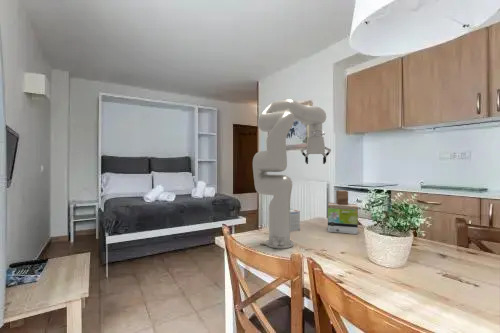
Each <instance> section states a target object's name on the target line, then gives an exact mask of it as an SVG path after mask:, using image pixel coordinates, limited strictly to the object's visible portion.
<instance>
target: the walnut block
mask: <svg viewBox="0 0 500 333" xmlns="http://www.w3.org/2000/svg"><path fill="white" fill-rule="evenodd" d="M335 192H336V194H335V195H336V196H335V200H336V201H335V203H337V204H338V205H348V204H349V191H347V190H336V191H335Z"/></svg>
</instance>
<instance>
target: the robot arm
mask: <svg viewBox="0 0 500 333" xmlns="http://www.w3.org/2000/svg"><path fill="white" fill-rule="evenodd" d="M266 106H267V105H266ZM257 120H258V121H257V126H258V128H259V130H261V131H262V132H265V133H268V134H267V137H266V143H265V144H266V150H262V151H259V152H256V153H255V154H254V156H253V157H252V158H253V159H252V172H253V181H254V183H253V184H254V188H255V191H256V192H257V194H260V195H263V196H264V195H265V196H273V197H272V198H271V200H270V201H269V204H268V239H266V241H265V245H266V246H267V247H269V248H272V249H277V250H278V249H279V250H281V249H288V248H292V247H293V246H294V244H295V243H294V241H293V240H292V239H291V231H290V208H291V197H292V196H291V195H292V190H293V181H292V179H291V177H290V176H287V175H286V174H285V175H284V174H268V173H281V172H284V171H285V170H287V167H288V160H287V159H288V154H287V144H286V143H287V137H288V134H289V132H290V130H291V129H292V127H293V126H294V123H295V121H297V122H300V123H301V124H302V125H305V126H308V136H307V139H306V146H305V147H303V148H302V149H300V153H301V154H302V156H304V160H305V161H304V162H305V164H306V165H308V164H309V157H308V156H309V155H322V156H323V157H322V164H323V165H325V164H326V163H327V157H328V156H329V155H330V153H331V151H332V149H331V148H329V147H327V146H325V138H324V136H325V134H326V133H325V132H324V131H323V124H324V123H325V122H326V120H327V114H326V111H325V110H324V109H323V108H321V107H319V106H314V105H308V104H303V103H300V102H298V101H297V100H294V99H291V98H286V99H279V100H273V101H272V102H271V103H269V104H268V106H267V107H266V108H265V109H264V110H263V111H262V113H260V115H259V117H258V119H257ZM323 135H324V136H323ZM305 151H306V153H305ZM326 151H327V152H326ZM325 152H326V153H325Z"/></svg>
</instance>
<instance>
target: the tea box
mask: <svg viewBox="0 0 500 333" xmlns="http://www.w3.org/2000/svg"><path fill="white" fill-rule="evenodd" d="M358 222H359V206H358V205H357V204H356V203H348V205H338V204H337V203H336V202H331V201H329V202H328V203H327V233H339V234H340V233H341V234H350V235H358V233H359V232H358V228H359V226H358V224H359V223H358Z"/></svg>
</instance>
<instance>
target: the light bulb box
mask: <svg viewBox="0 0 500 333" xmlns="http://www.w3.org/2000/svg"><path fill="white" fill-rule="evenodd" d="M300 223H301V211H300V210H299V209H295V208H291V207H290V232H294V231H295V232H296V231H300V229H301V227H300V226H301V224H300Z"/></svg>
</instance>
